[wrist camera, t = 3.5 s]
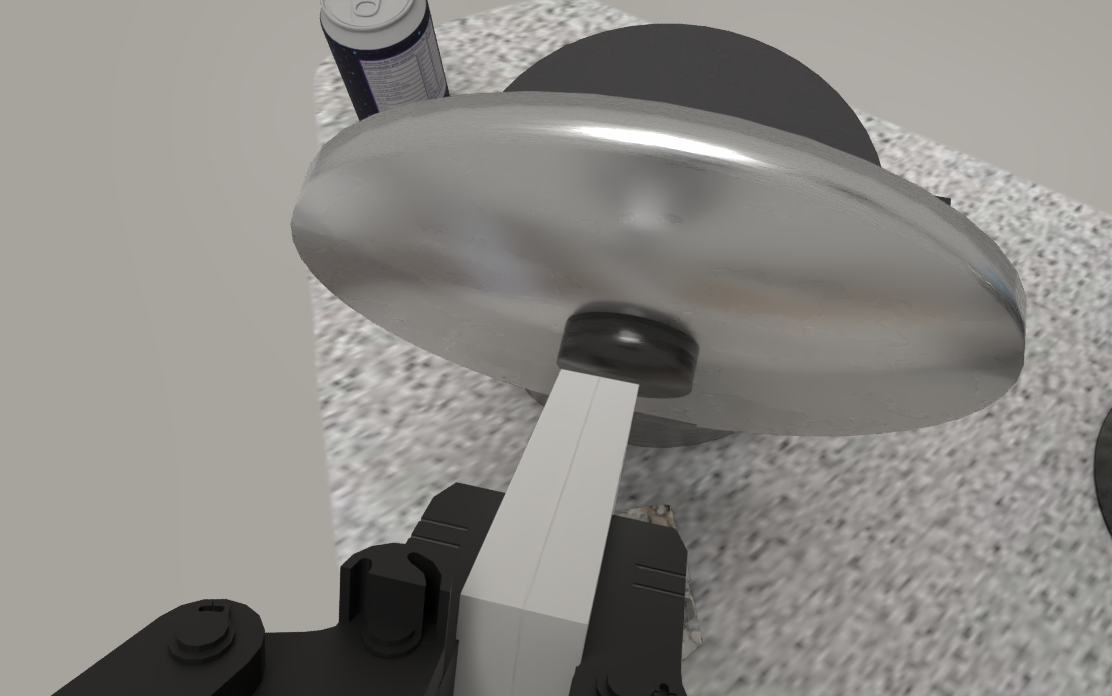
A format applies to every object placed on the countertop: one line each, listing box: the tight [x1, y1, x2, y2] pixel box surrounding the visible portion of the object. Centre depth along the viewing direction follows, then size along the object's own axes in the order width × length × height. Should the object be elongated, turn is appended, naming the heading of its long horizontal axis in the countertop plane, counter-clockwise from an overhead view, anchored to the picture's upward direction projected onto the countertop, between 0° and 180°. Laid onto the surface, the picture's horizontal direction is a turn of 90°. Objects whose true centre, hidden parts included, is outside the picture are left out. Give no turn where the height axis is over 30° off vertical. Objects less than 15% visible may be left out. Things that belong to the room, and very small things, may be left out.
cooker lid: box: [291, 91, 1027, 436], centre depth 24 cm, size 20×20×2 cm
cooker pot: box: [503, 24, 951, 447], centre depth 42 cm, size 26×20×10 cm
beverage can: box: [320, 0, 450, 121], centre depth 46 cm, size 6×6×12 cm
